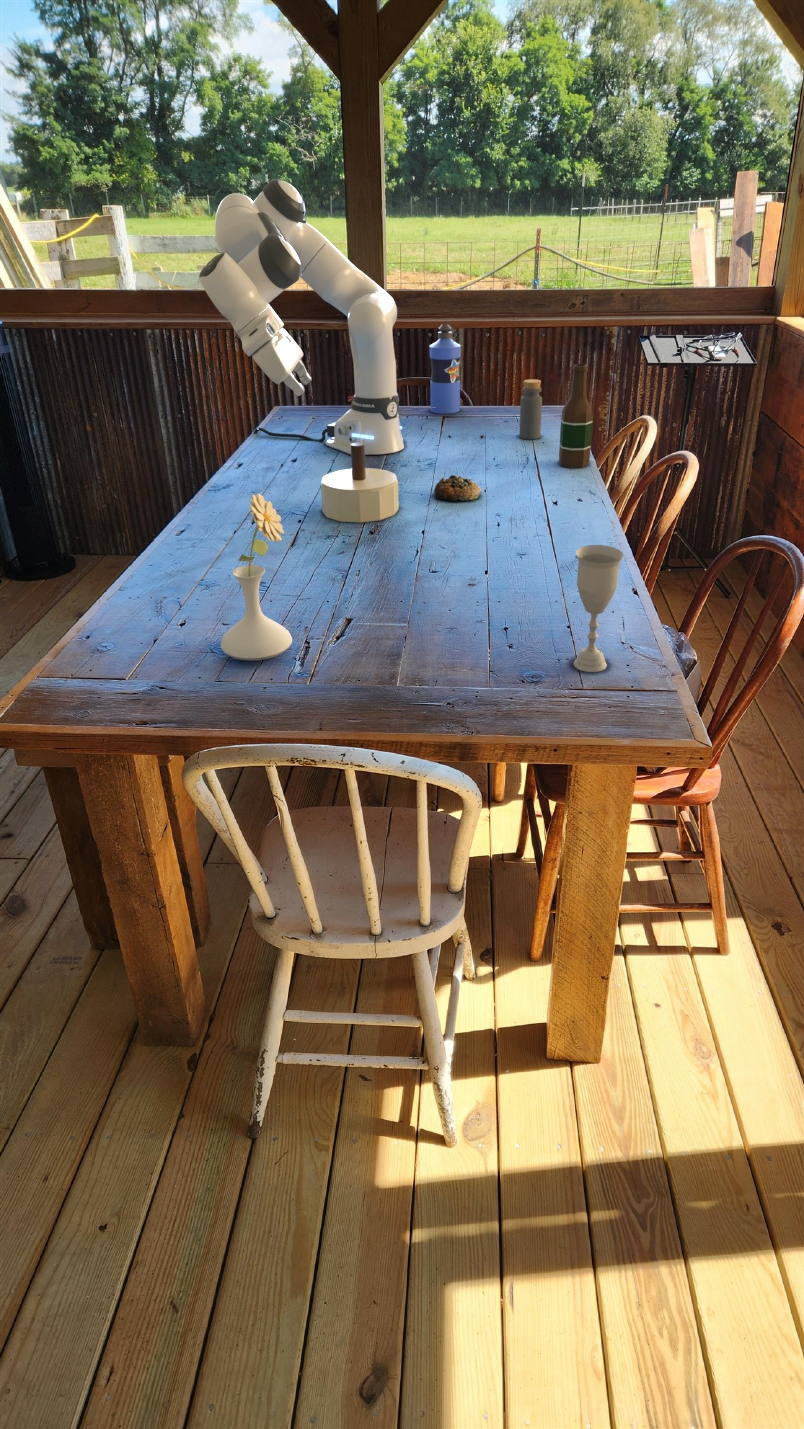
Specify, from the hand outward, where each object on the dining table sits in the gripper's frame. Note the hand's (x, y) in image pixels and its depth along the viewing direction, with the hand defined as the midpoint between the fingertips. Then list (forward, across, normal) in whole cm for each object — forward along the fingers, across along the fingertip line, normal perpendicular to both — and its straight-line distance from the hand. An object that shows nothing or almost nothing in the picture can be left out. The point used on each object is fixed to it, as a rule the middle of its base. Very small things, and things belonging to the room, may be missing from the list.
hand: (305, 387), depth 202 cm
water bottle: (+40, -97, +4) cm, 105 cm away
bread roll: (+41, -11, +10) cm, 43 cm away
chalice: (+51, +75, +30) cm, 95 cm away
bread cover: (+28, 0, -7) cm, 29 cm away
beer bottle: (+58, -36, +34) cm, 76 cm away
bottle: (+53, -64, +25) cm, 87 cm away
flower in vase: (+21, +70, -13) cm, 75 cm away
